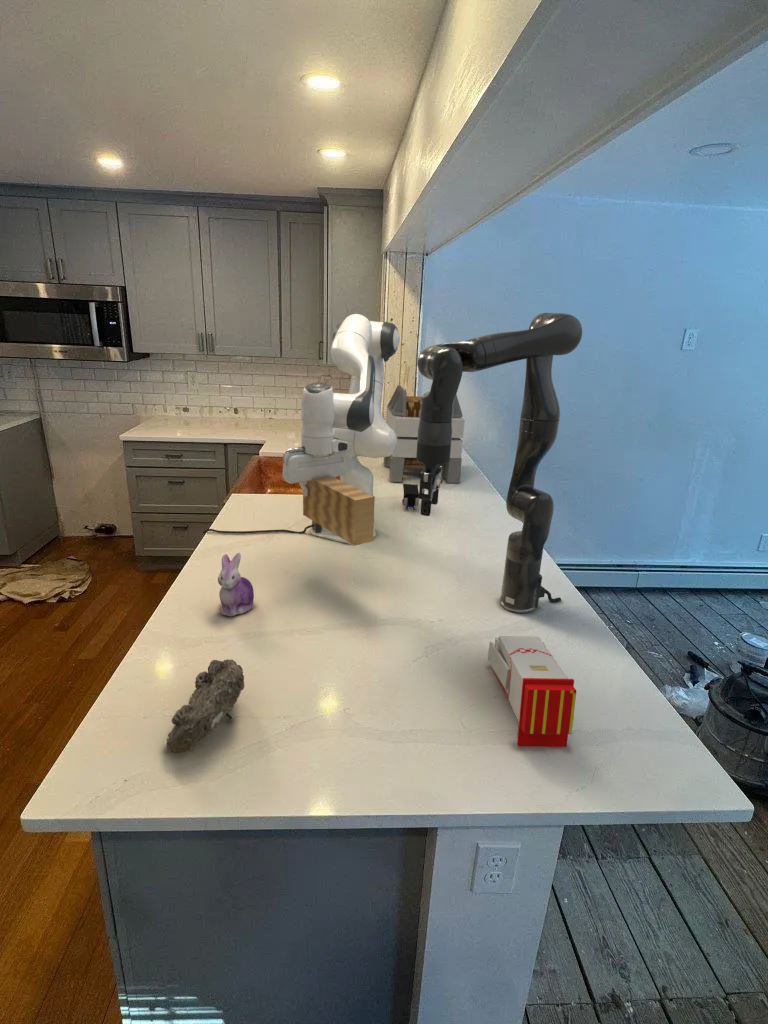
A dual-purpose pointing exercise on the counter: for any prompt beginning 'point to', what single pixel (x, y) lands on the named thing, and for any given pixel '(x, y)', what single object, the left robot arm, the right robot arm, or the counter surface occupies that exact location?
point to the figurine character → (410, 496)
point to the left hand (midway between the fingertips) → (317, 493)
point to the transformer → (405, 425)
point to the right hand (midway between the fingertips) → (429, 509)
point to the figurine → (234, 588)
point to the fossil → (206, 705)
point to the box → (340, 509)
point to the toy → (534, 690)
